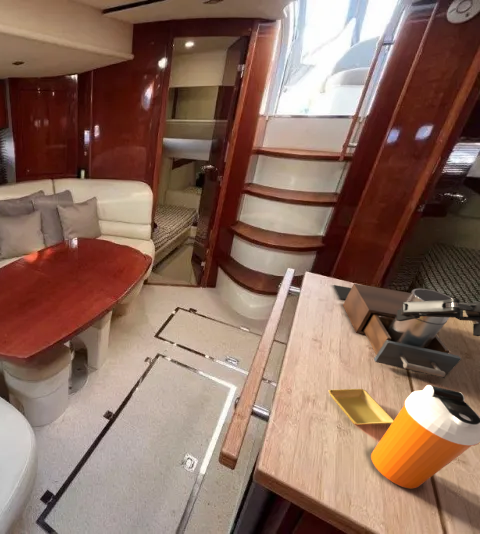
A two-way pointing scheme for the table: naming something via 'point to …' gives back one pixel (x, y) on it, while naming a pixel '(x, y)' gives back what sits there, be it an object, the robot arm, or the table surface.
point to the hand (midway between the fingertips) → (435, 322)
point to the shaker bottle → (426, 436)
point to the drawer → (408, 350)
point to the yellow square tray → (360, 407)
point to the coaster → (342, 292)
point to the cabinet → (371, 304)
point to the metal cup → (418, 322)
